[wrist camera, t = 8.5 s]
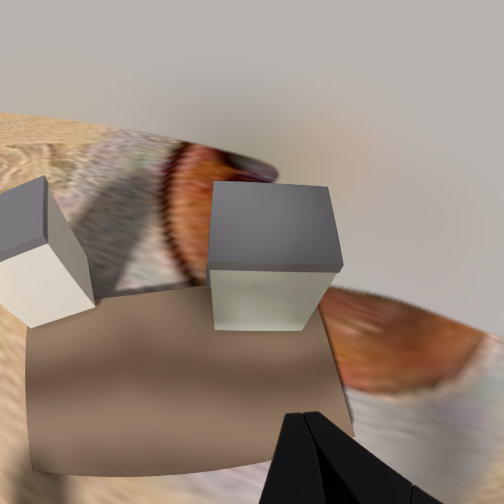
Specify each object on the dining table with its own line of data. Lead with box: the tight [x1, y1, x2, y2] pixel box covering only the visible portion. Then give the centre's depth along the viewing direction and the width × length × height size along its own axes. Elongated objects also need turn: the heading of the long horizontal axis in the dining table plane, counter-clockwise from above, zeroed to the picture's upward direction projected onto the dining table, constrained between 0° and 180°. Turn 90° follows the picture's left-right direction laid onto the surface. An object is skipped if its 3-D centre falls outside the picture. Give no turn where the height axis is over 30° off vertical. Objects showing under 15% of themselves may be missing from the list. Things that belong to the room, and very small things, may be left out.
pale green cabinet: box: [206, 181, 343, 331], centre depth 16 cm, size 4×5×8 cm
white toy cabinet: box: [0, 175, 96, 328], centre depth 15 cm, size 4×5×8 cm
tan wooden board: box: [25, 285, 355, 477], centre depth 17 cm, size 11×19×1 cm, turn 101°
